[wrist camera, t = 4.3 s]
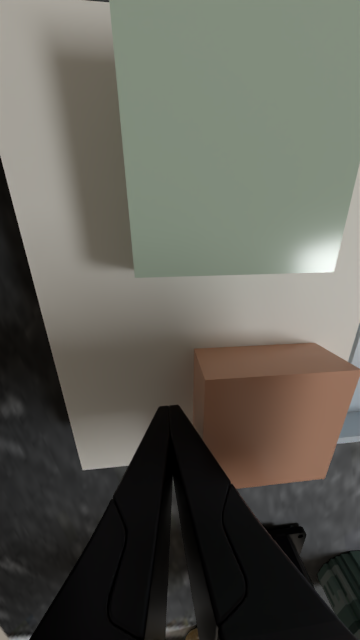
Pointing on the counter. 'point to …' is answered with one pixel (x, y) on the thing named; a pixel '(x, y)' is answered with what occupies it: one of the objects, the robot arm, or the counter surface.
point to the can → (343, 588)
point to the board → (126, 244)
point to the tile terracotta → (271, 409)
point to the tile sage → (237, 132)
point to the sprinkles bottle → (192, 635)
